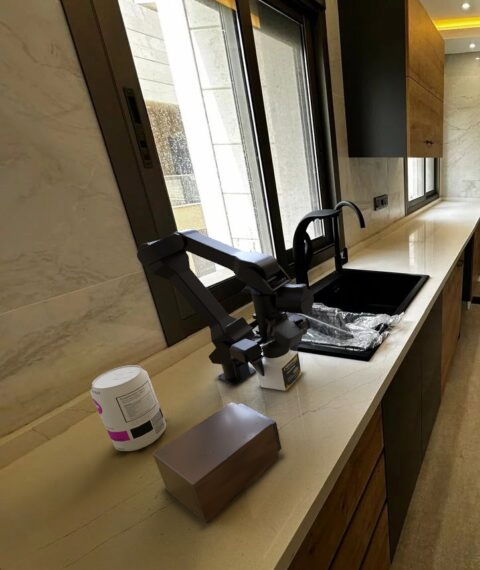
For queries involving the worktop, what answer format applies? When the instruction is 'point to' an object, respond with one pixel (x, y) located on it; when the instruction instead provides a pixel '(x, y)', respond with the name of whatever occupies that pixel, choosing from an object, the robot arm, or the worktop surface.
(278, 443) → the drawer
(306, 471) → the worktop surface
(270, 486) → the worktop surface
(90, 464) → the worktop surface
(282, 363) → the medicine bottle
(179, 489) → the cabinet
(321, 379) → the worktop surface
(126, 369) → the supplement can
